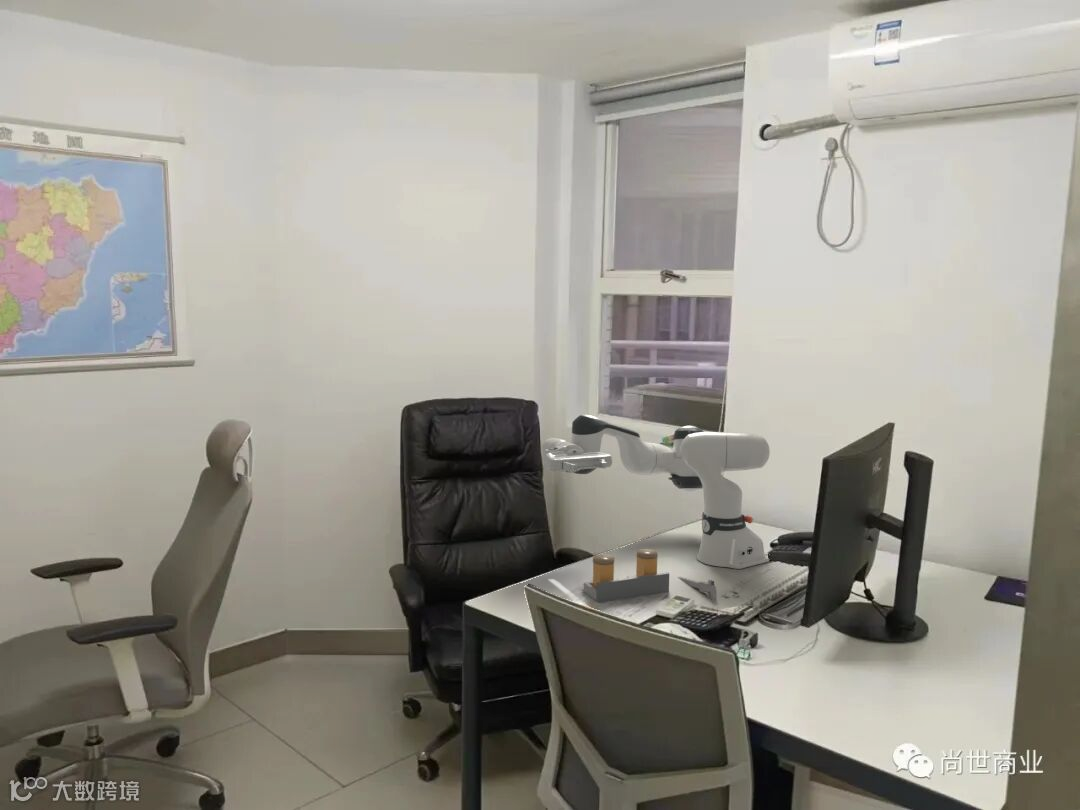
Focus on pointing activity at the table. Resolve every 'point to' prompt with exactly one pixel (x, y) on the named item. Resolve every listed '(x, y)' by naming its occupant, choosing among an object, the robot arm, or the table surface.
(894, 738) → the table surface
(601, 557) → the amber lidded jar
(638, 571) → the orange jar with lid
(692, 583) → the caliper
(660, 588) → the housing
